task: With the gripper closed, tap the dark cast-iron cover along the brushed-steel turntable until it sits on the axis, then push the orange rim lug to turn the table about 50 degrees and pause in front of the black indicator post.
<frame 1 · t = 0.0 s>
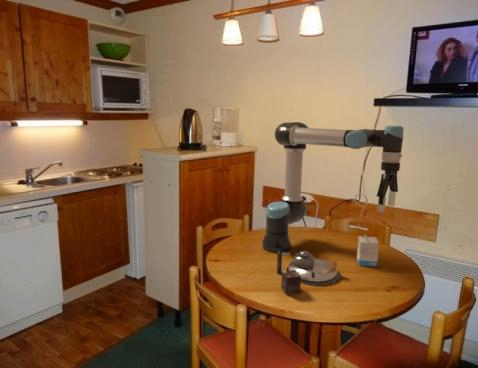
hand: (386, 208, 155), 28 cm above the table, fingers open, 13 cm apart
cover: (303, 264, 156), point 2 cm above the table, touching turntable
ink box: (366, 262, 165), on the table
plinth: (312, 272, 154), on the table
turntable: (312, 265, 153), point 4 cm above the table, hinge at 0.0°, touching cover
box: (290, 291, 138), on the table
indicator post: (279, 273, 153), on the table
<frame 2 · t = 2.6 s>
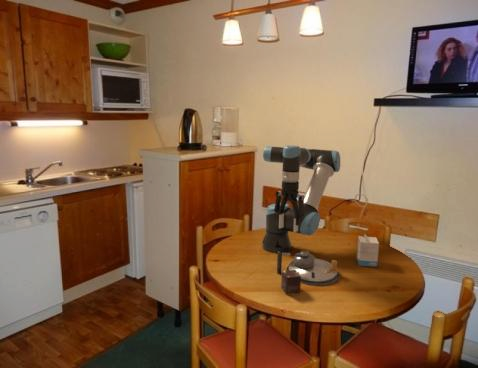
hand: (288, 229, 159), 17 cm above the table, fingers open, 7 cm apart
nothing on the table moved.
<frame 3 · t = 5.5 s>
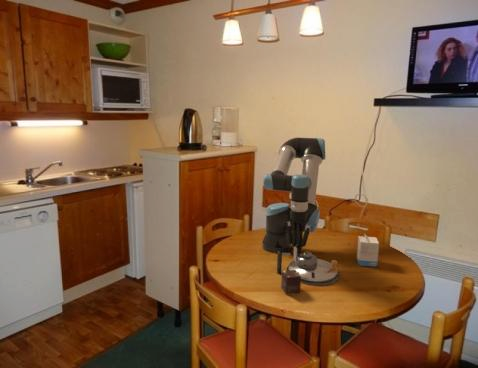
hand: (296, 259, 158), 4 cm above the table, fingers closed
cover: (306, 265, 155), point 3 cm above the table, touching gripper
turntable: (312, 265, 153), point 4 cm above the table, hinge at 0.0°
everything else where it was.
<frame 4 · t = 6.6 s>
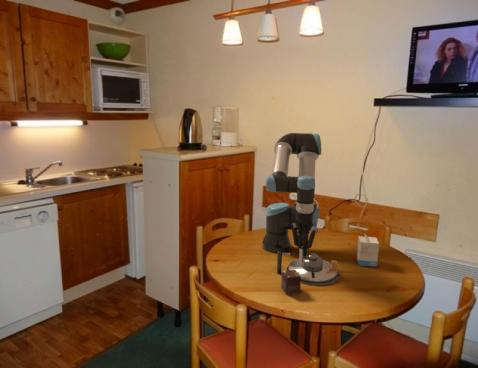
hand: (301, 261, 156), 4 cm above the table, fingers closed
cover: (312, 267, 153), point 2 cm above the table, touching gripper, turntable
turntable: (312, 265, 153), point 4 cm above the table, hinge at 0.0°, touching cover
everything else where it was.
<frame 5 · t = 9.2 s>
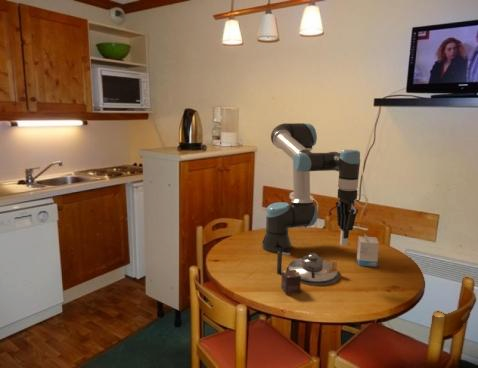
hand: (343, 244, 143), 17 cm above the table, fingers closed
cover: (312, 267, 153), point 2 cm above the table, touching turntable
everything else where it was.
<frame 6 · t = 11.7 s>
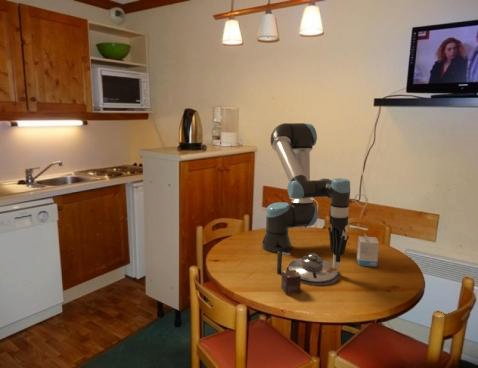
hand: (336, 267, 150), 4 cm above the table, fingers closed
turntable: (312, 265, 153), point 4 cm above the table, hinge at 5.1°, touching cover, gripper
everything else where it was.
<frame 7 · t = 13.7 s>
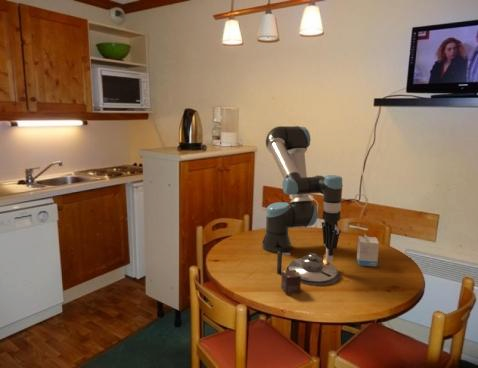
hand: (328, 261, 156), 4 cm above the table, fingers closed
turntable: (312, 265, 153), point 4 cm above the table, hinge at 45.9°, touching cover, gripper
everything else where it was.
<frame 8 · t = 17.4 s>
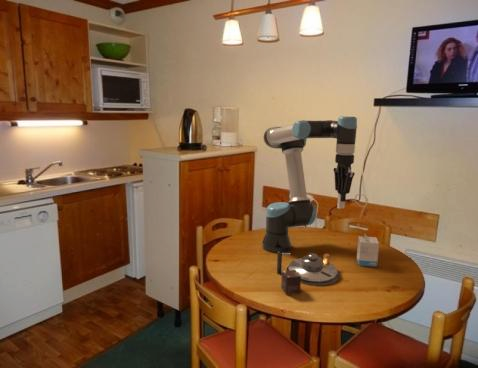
hand: (340, 208, 150), 29 cm above the table, fingers closed
turntable: (312, 265, 153), point 4 cm above the table, hinge at 46.0°, touching cover
everything else where it was.
at the end: cover 0.3 cm from the turntable (horizontally); turntable at +46° (first picture: +0°); cover tilted 0° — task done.
